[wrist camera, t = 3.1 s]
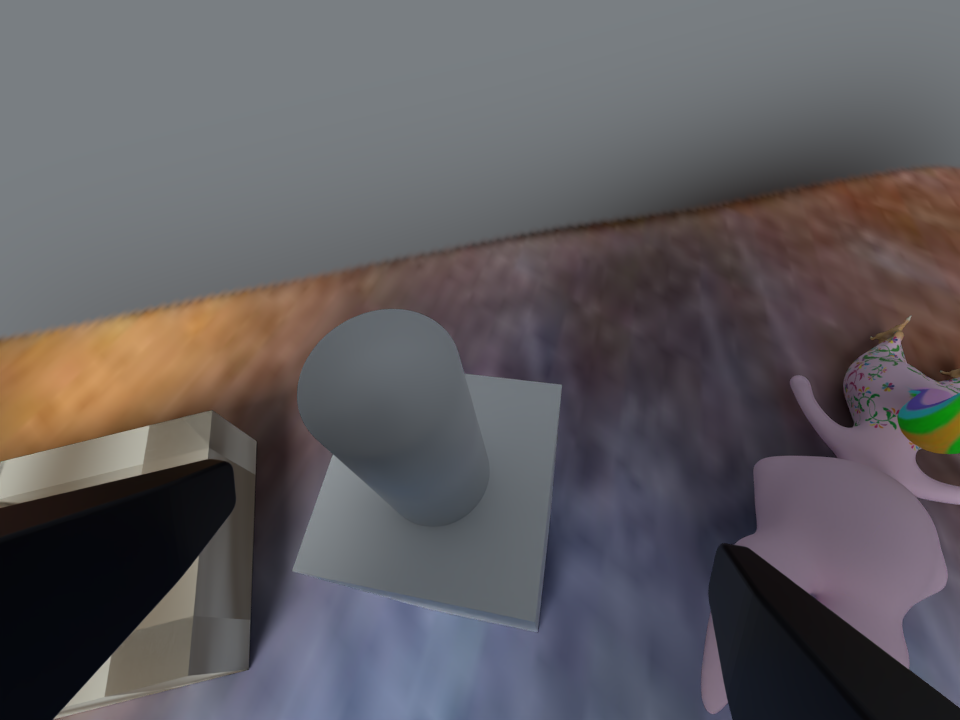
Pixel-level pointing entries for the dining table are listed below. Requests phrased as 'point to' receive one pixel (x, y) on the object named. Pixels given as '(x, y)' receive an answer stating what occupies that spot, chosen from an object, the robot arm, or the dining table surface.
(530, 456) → the grey plug
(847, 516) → the pink horned figurine
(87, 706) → the slot rack
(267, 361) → the dining table surface
